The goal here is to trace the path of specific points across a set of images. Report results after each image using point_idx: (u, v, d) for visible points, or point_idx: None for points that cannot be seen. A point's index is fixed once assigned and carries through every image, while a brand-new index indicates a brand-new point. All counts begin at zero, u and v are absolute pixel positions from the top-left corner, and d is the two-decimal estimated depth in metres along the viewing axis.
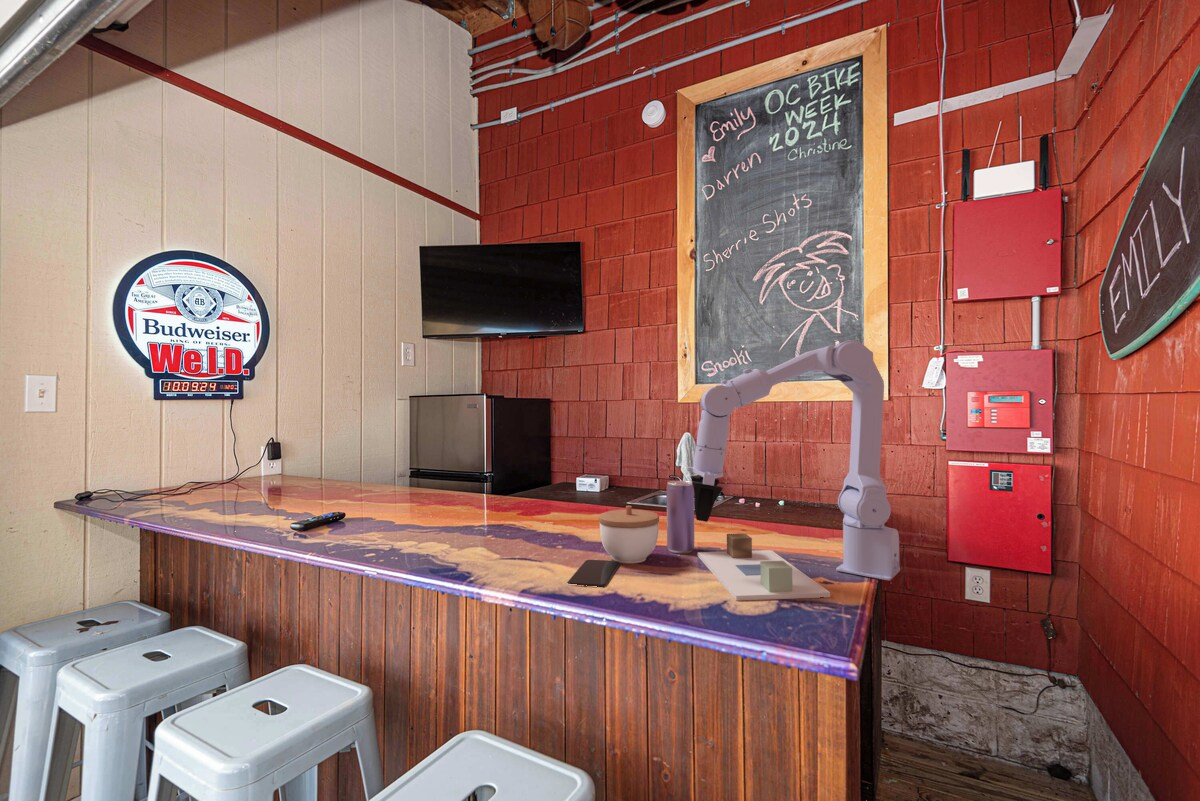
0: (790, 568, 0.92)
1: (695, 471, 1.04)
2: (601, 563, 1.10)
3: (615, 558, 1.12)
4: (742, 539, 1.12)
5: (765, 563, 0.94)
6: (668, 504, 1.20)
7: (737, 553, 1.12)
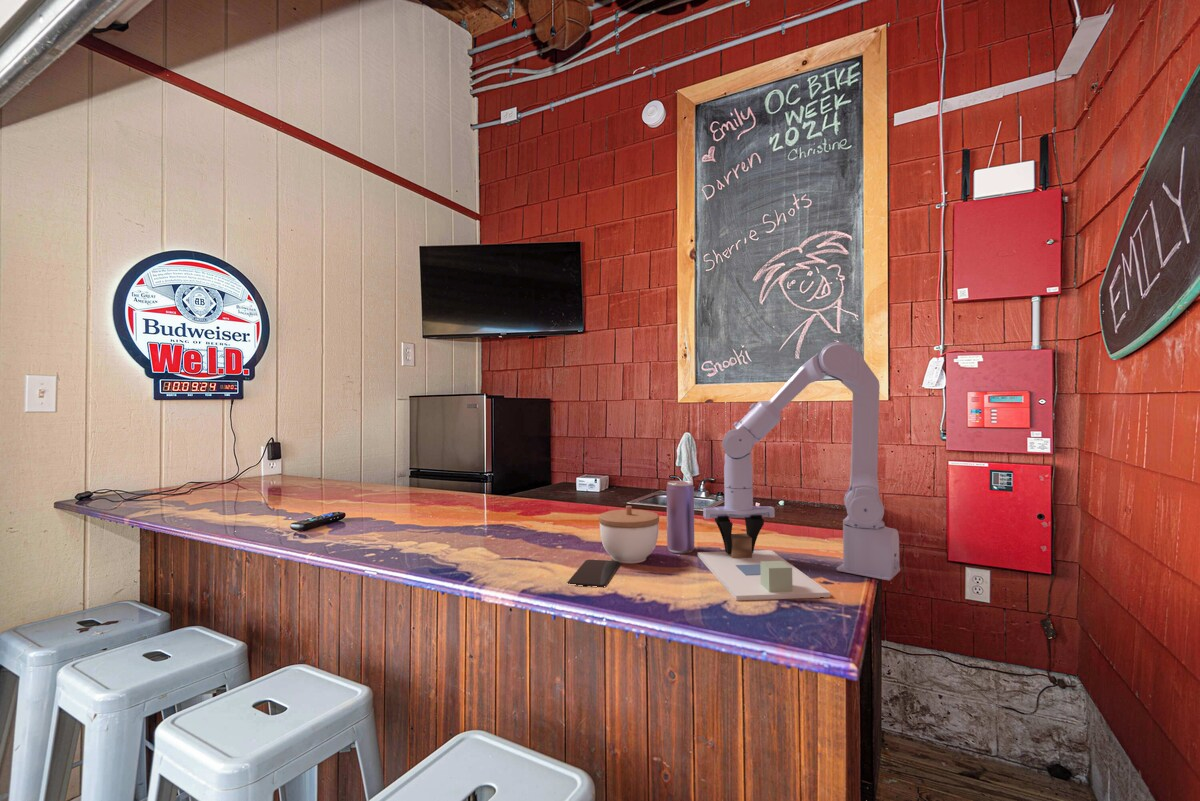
0: (790, 568, 0.92)
1: None
2: (601, 563, 1.10)
3: (615, 558, 1.12)
4: (742, 539, 1.12)
5: (765, 563, 0.94)
6: (668, 504, 1.20)
7: (737, 553, 1.12)
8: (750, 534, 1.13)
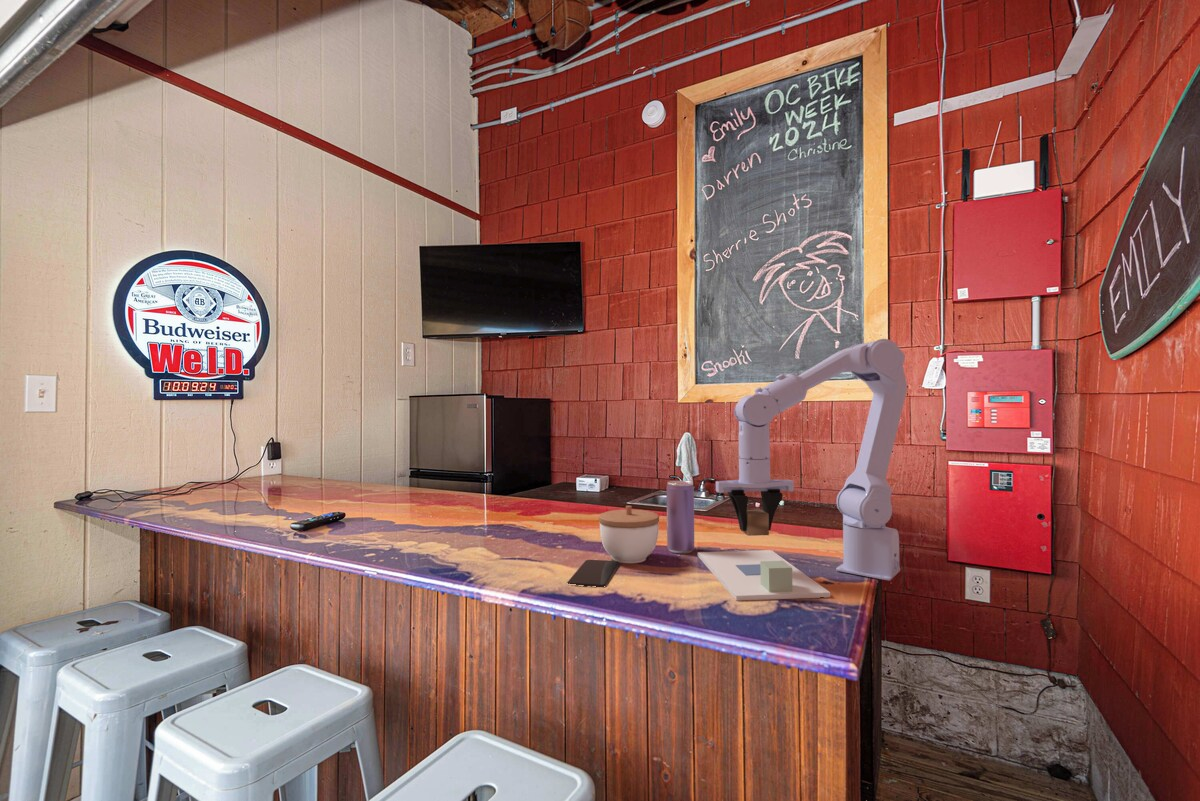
0: (790, 568, 0.92)
1: None
2: (601, 563, 1.10)
3: (615, 558, 1.12)
4: (758, 515, 1.02)
5: (765, 563, 0.94)
6: (668, 504, 1.20)
7: (753, 530, 1.02)
8: (767, 509, 1.03)
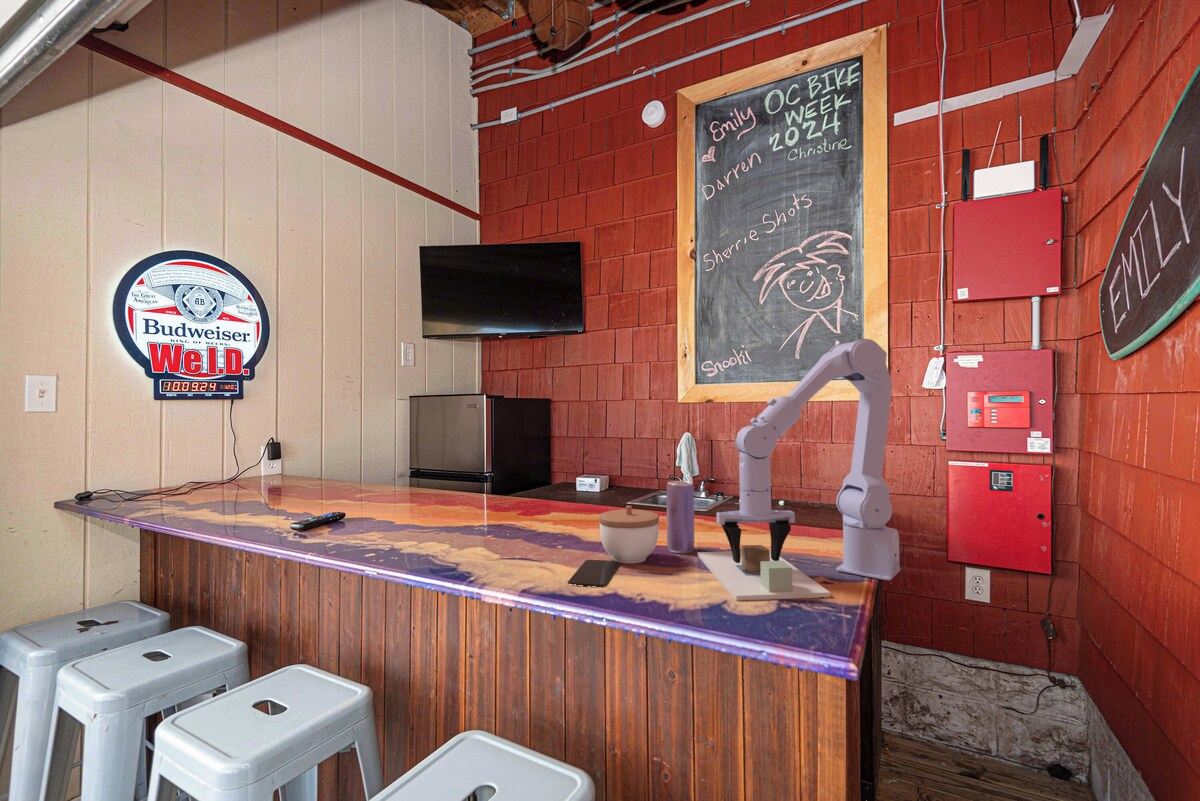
0: (790, 568, 0.92)
1: None
2: (601, 563, 1.10)
3: (615, 558, 1.12)
4: (759, 552, 1.02)
5: (765, 563, 0.94)
6: (668, 504, 1.20)
7: (754, 567, 1.02)
8: (775, 541, 1.03)
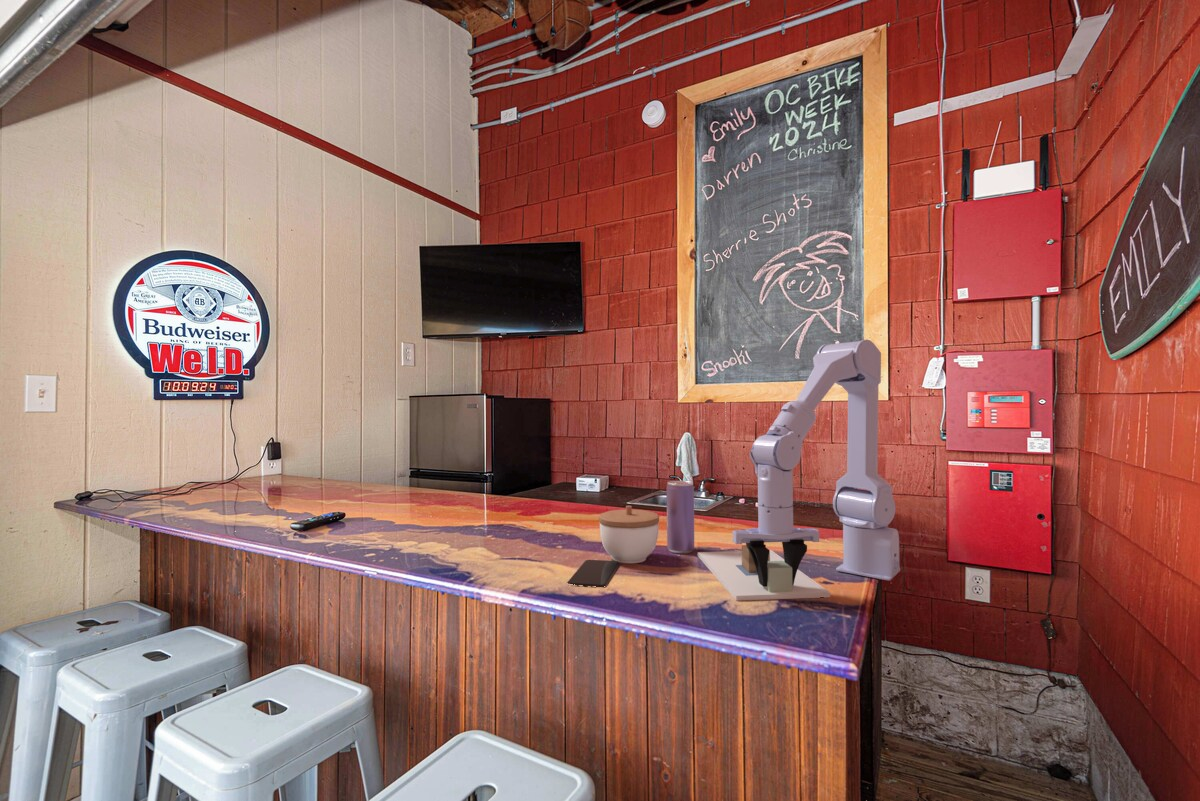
0: (790, 568, 0.92)
1: None
2: (601, 563, 1.10)
3: (615, 558, 1.12)
4: None
5: None
6: (668, 504, 1.20)
7: (754, 567, 1.02)
8: (790, 562, 0.93)
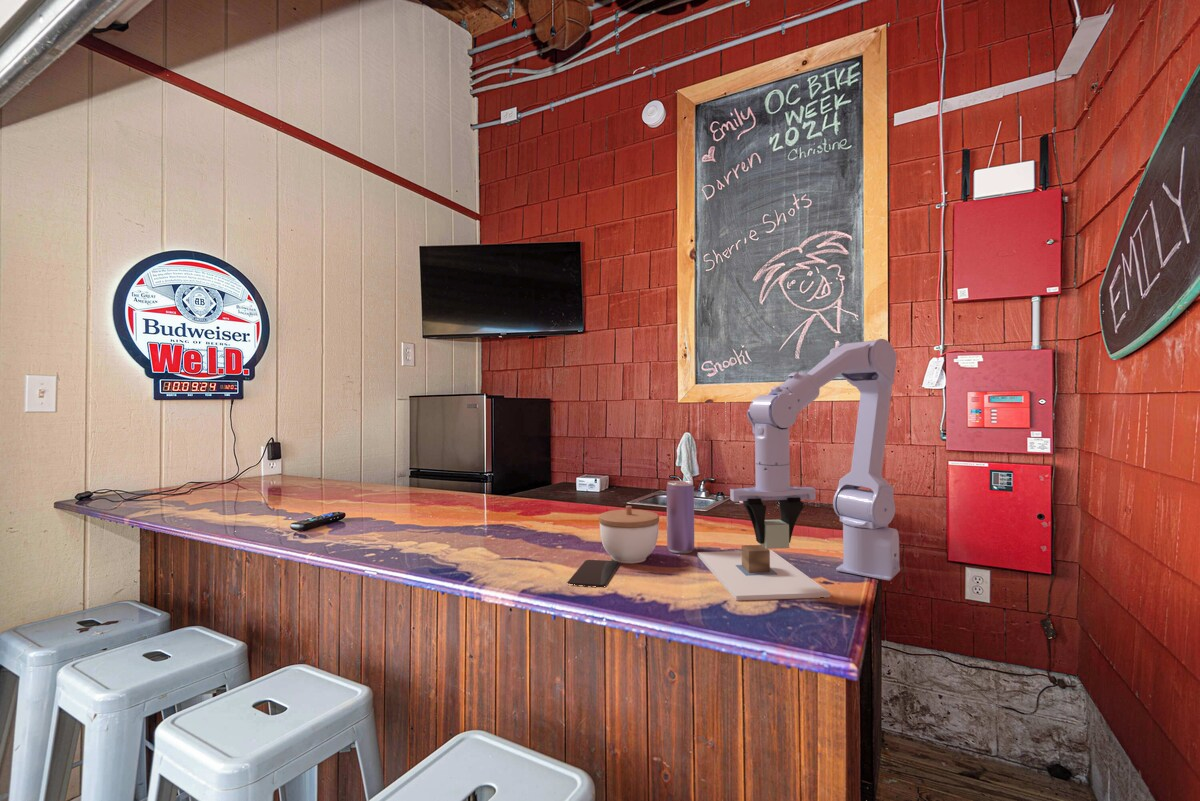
0: (787, 525, 0.93)
1: None
2: (601, 563, 1.10)
3: (615, 558, 1.12)
4: (759, 552, 1.02)
5: None
6: (668, 504, 1.20)
7: (754, 567, 1.02)
8: (786, 520, 0.94)
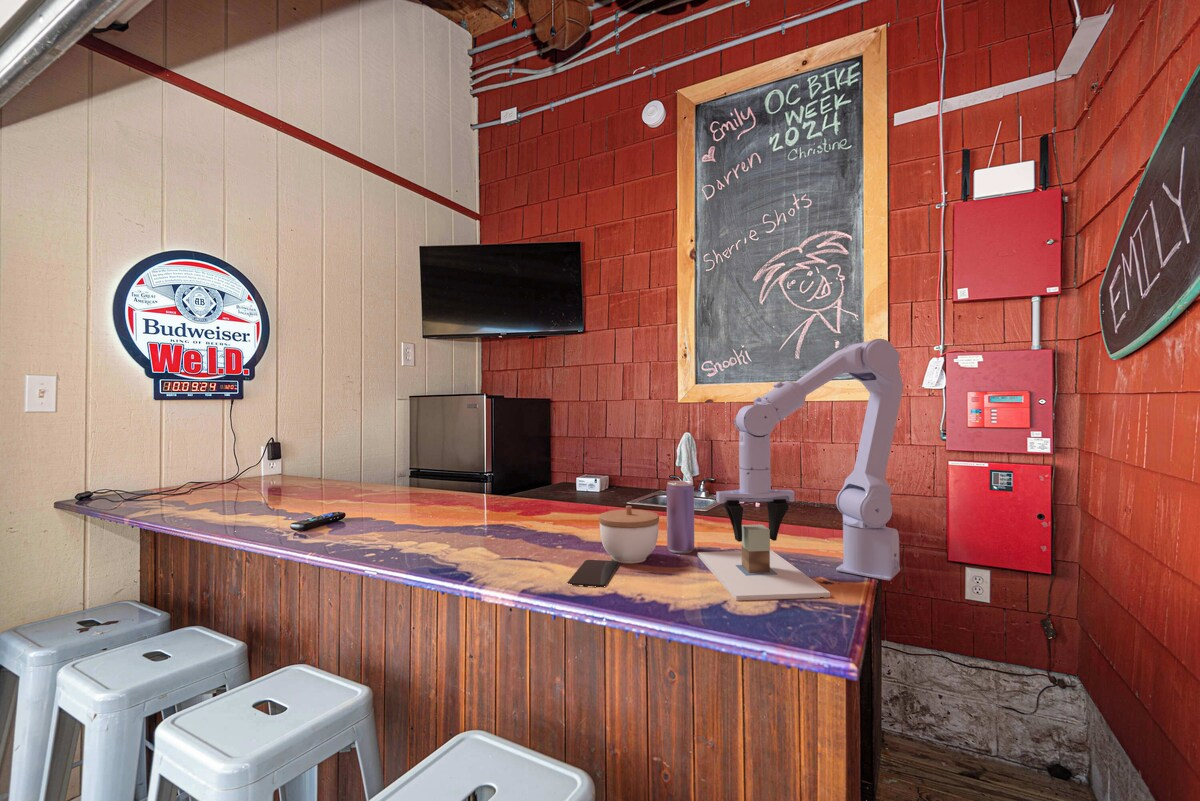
0: (768, 530, 1.02)
1: None
2: (601, 563, 1.10)
3: (615, 558, 1.12)
4: (759, 552, 1.02)
5: (746, 526, 1.04)
6: (668, 504, 1.20)
7: (754, 567, 1.02)
8: (773, 520, 1.03)
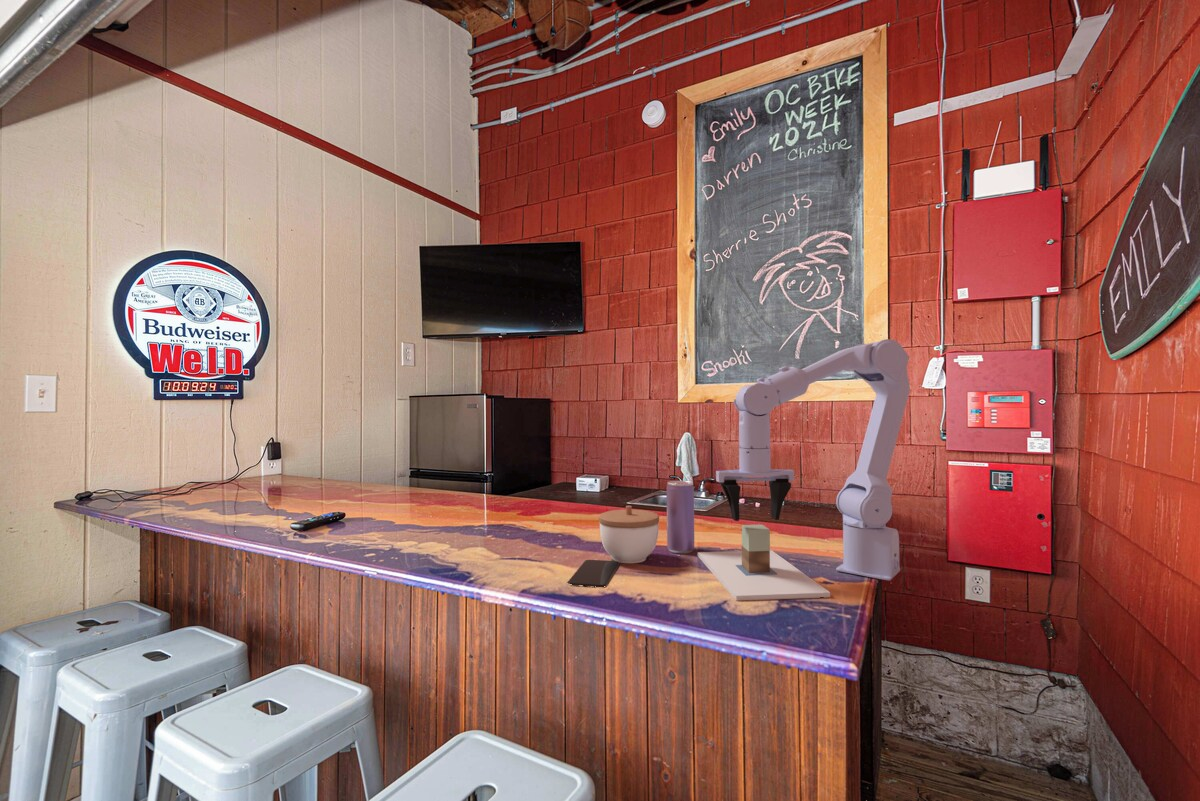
0: (768, 530, 1.02)
1: None
2: (601, 563, 1.10)
3: (615, 558, 1.12)
4: (759, 552, 1.02)
5: (746, 526, 1.04)
6: (668, 504, 1.20)
7: (754, 567, 1.02)
8: (775, 499, 1.03)
